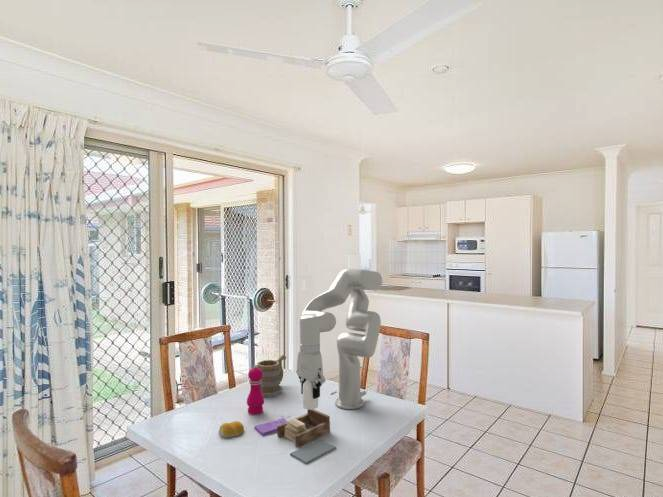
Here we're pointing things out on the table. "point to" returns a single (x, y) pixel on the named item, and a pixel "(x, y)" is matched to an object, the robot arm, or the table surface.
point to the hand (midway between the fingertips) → (310, 394)
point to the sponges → (269, 427)
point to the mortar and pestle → (271, 376)
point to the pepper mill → (255, 392)
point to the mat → (313, 451)
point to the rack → (319, 428)
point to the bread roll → (231, 429)
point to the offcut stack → (294, 429)
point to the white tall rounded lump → (309, 396)
